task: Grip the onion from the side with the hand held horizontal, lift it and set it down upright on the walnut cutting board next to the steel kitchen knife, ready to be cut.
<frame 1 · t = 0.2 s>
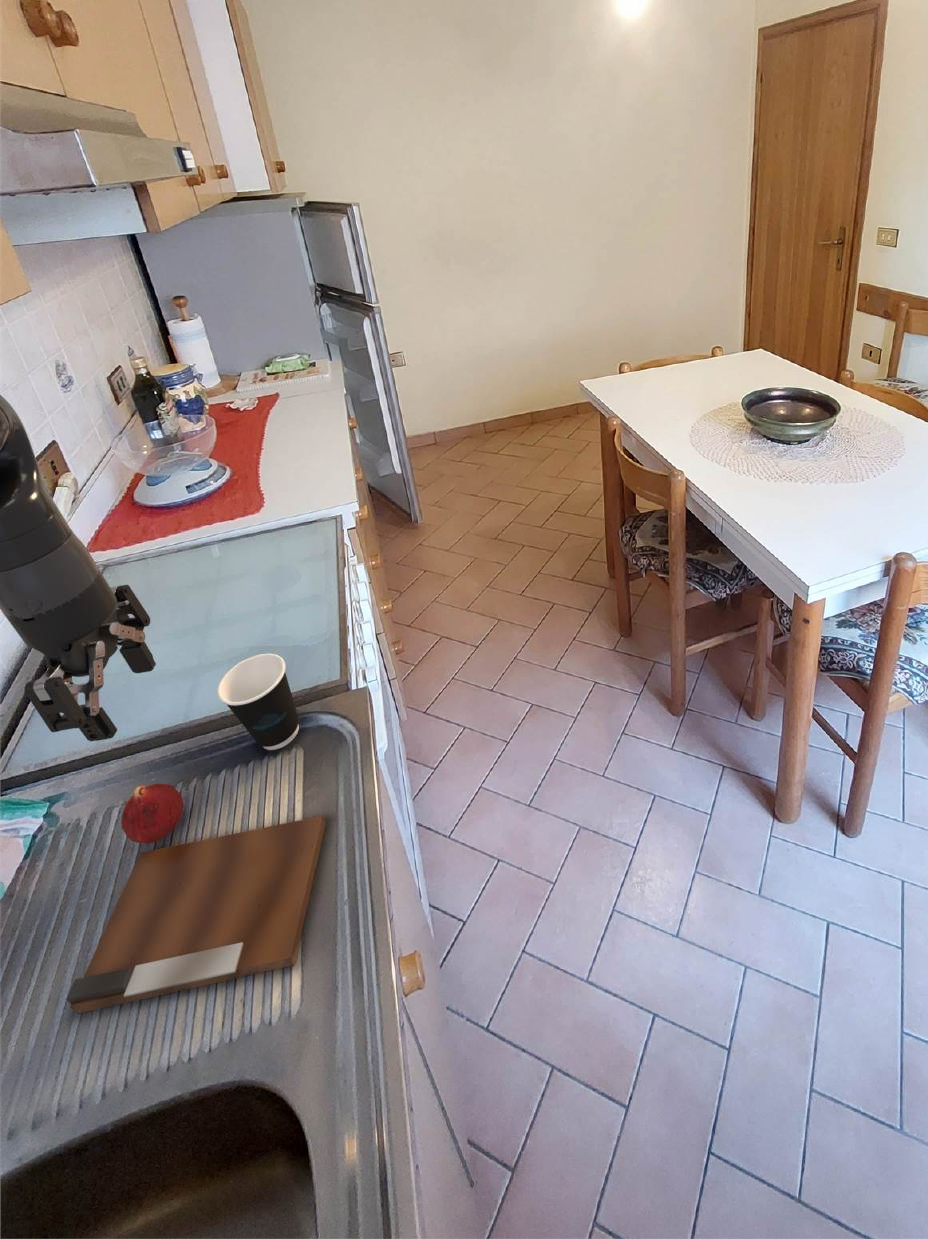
hand: (126, 701, 67), 20 cm above the worktop, tool pointing down, fingers open, 8 cm apart
dixie cup: (280, 735, 86), on the worktop
onion: (167, 832, 75), on the worktop
cutting board: (214, 908, 67), on the worktop
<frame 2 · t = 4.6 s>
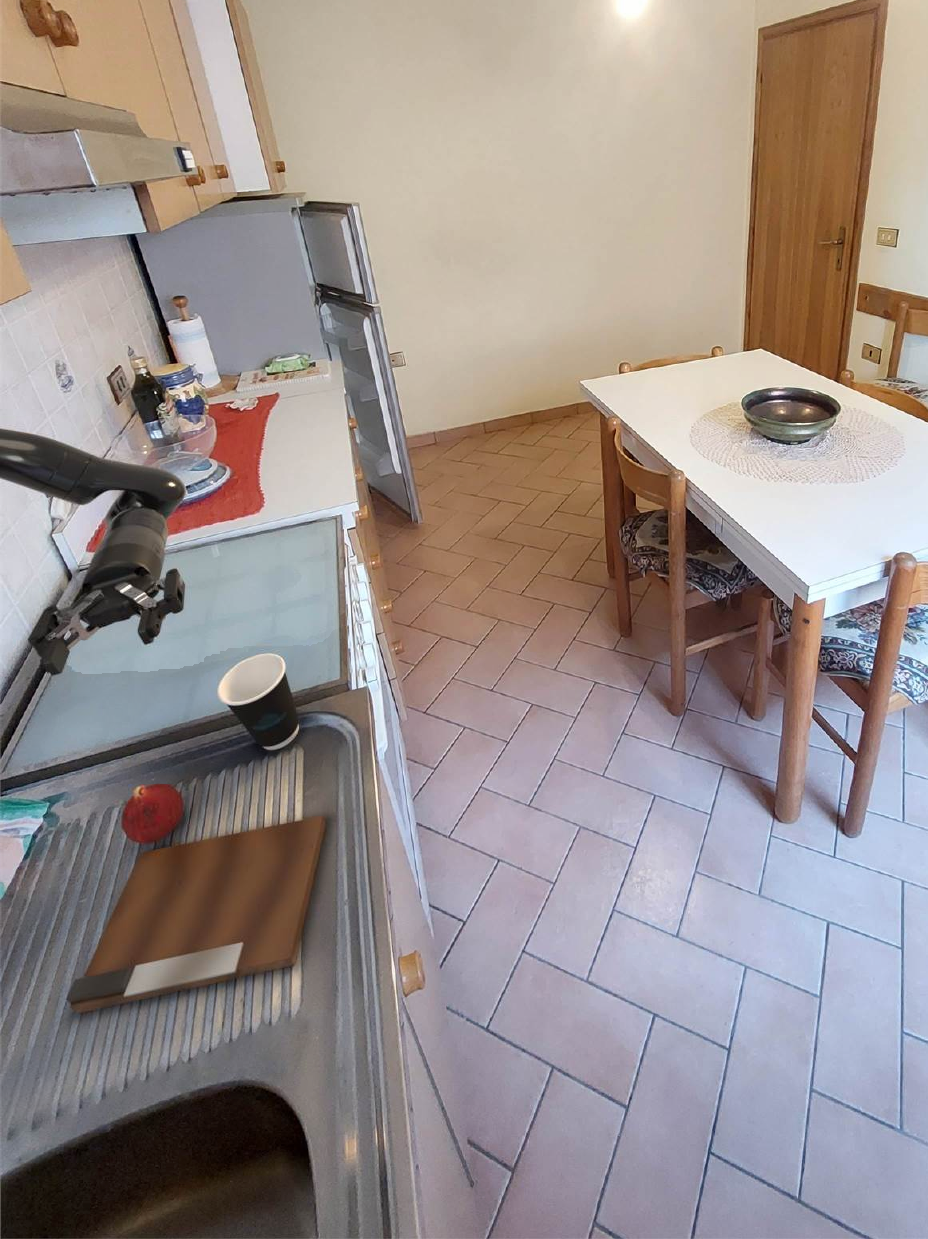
hand: (99, 653, 68), 24 cm above the worktop, tool horizontal, fingers open, 8 cm apart
nothing on the worktop moved.
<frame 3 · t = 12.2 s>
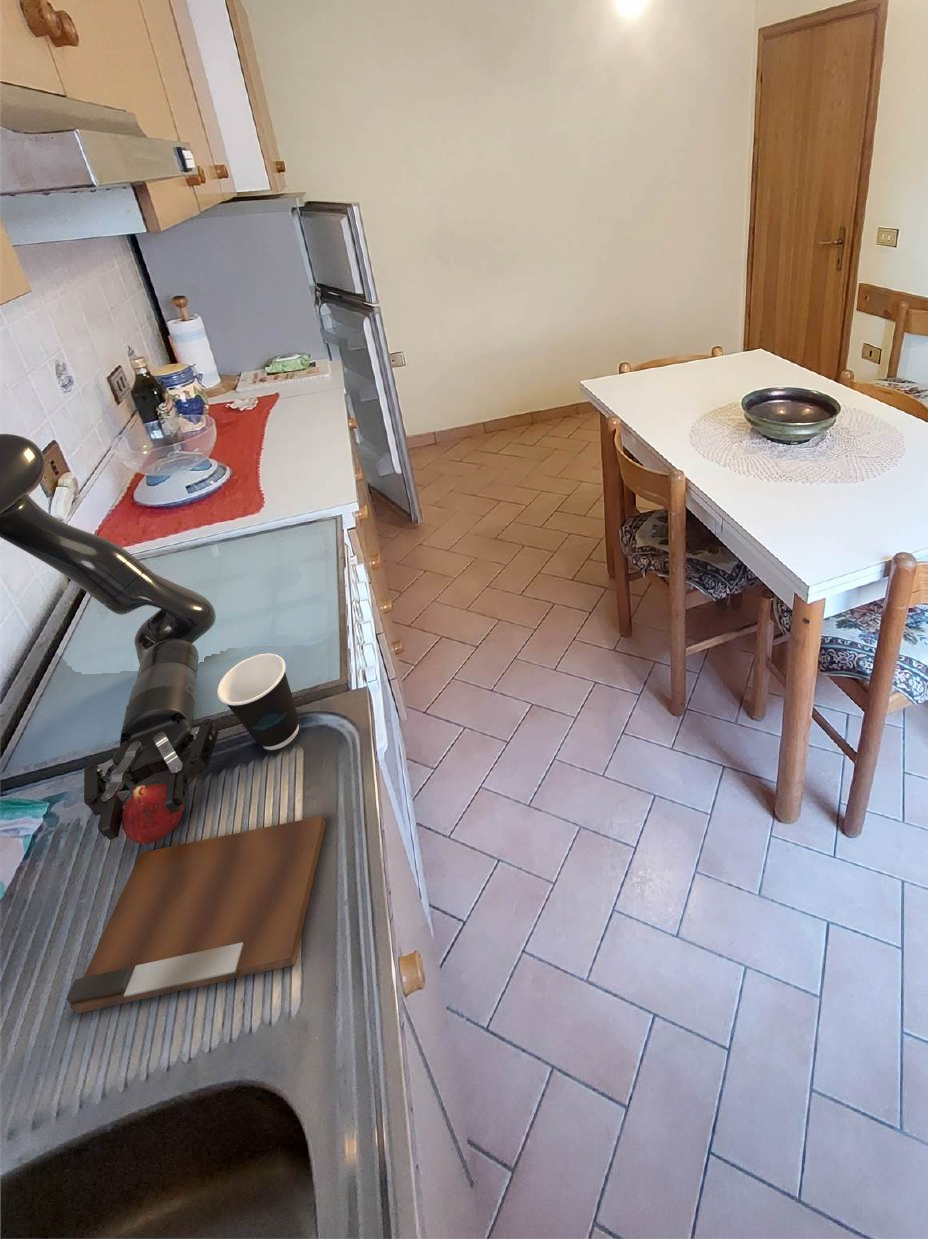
hand: (141, 821, 70), 6 cm above the worktop, tool horizontal, fingers closed on onion, 5 cm apart
onion: (167, 832, 75), on the worktop, touching gripper
everything else where it was.
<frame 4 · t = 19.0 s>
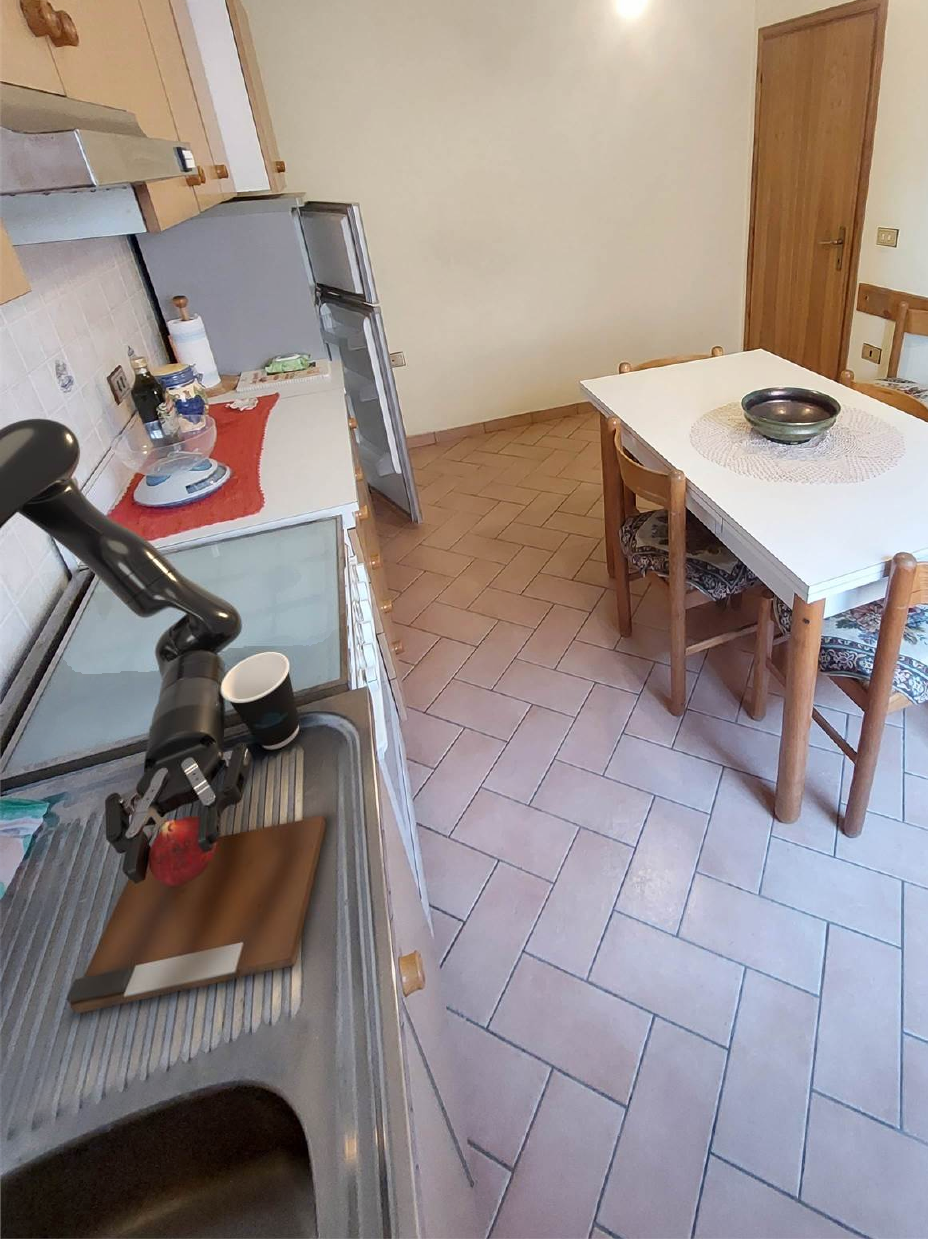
hand: (171, 862, 62), 10 cm above the worktop, tool horizontal, fingers closed on onion, 5 cm apart
onion: (198, 870, 67), point 4 cm above the worktop, touching gripper
everything else where it was.
when the fingers open (8 cm above the worktop, at t = 20.5 s): onion stays where it is, resting on cutting board.
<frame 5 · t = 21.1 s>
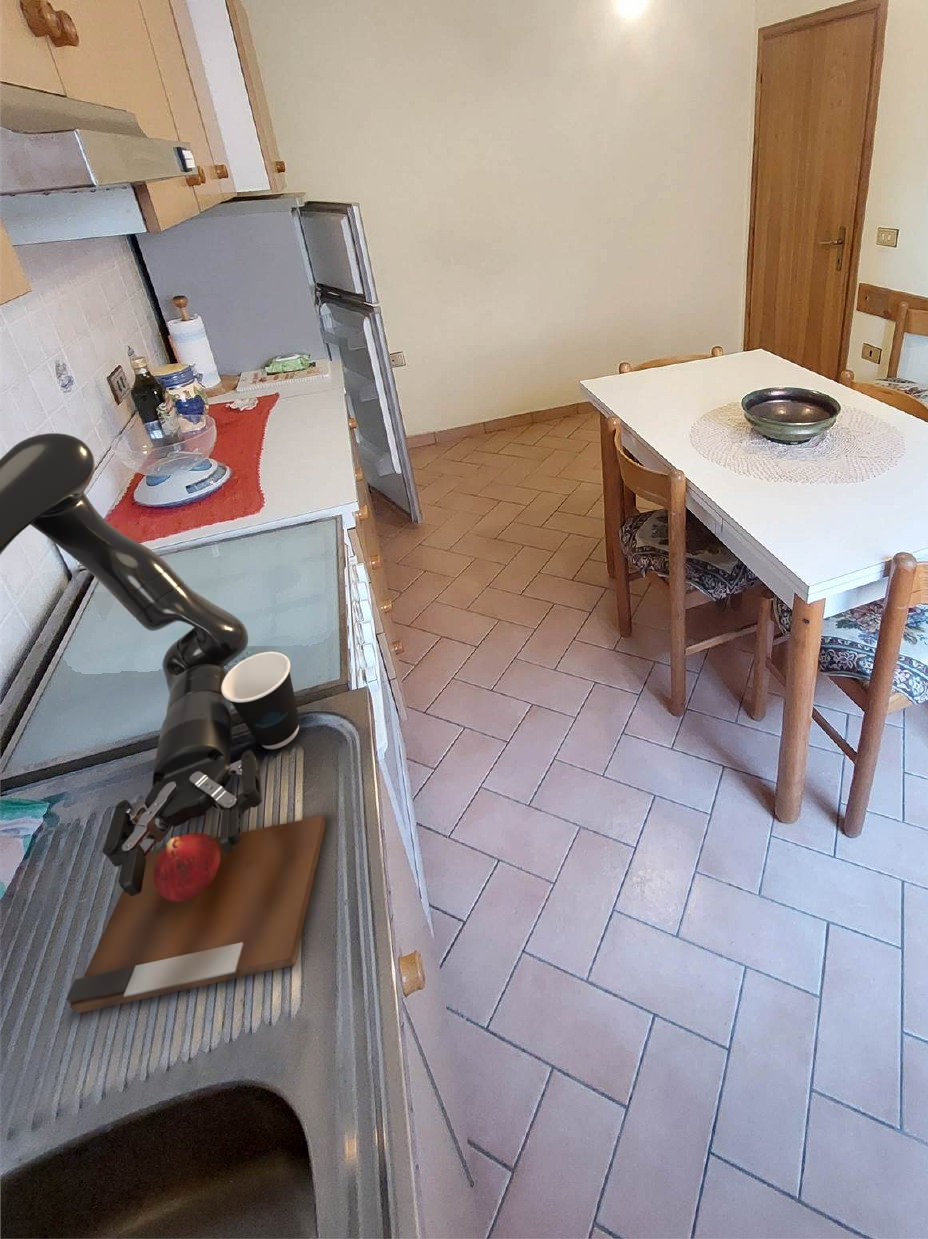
hand: (180, 869, 63), 8 cm above the worktop, tool horizontal, fingers open, 8 cm apart
dixie cup: (280, 734, 85), on the worktop, touching arm
onion: (202, 886, 68), point 1 cm above the worktop, touching cutting board
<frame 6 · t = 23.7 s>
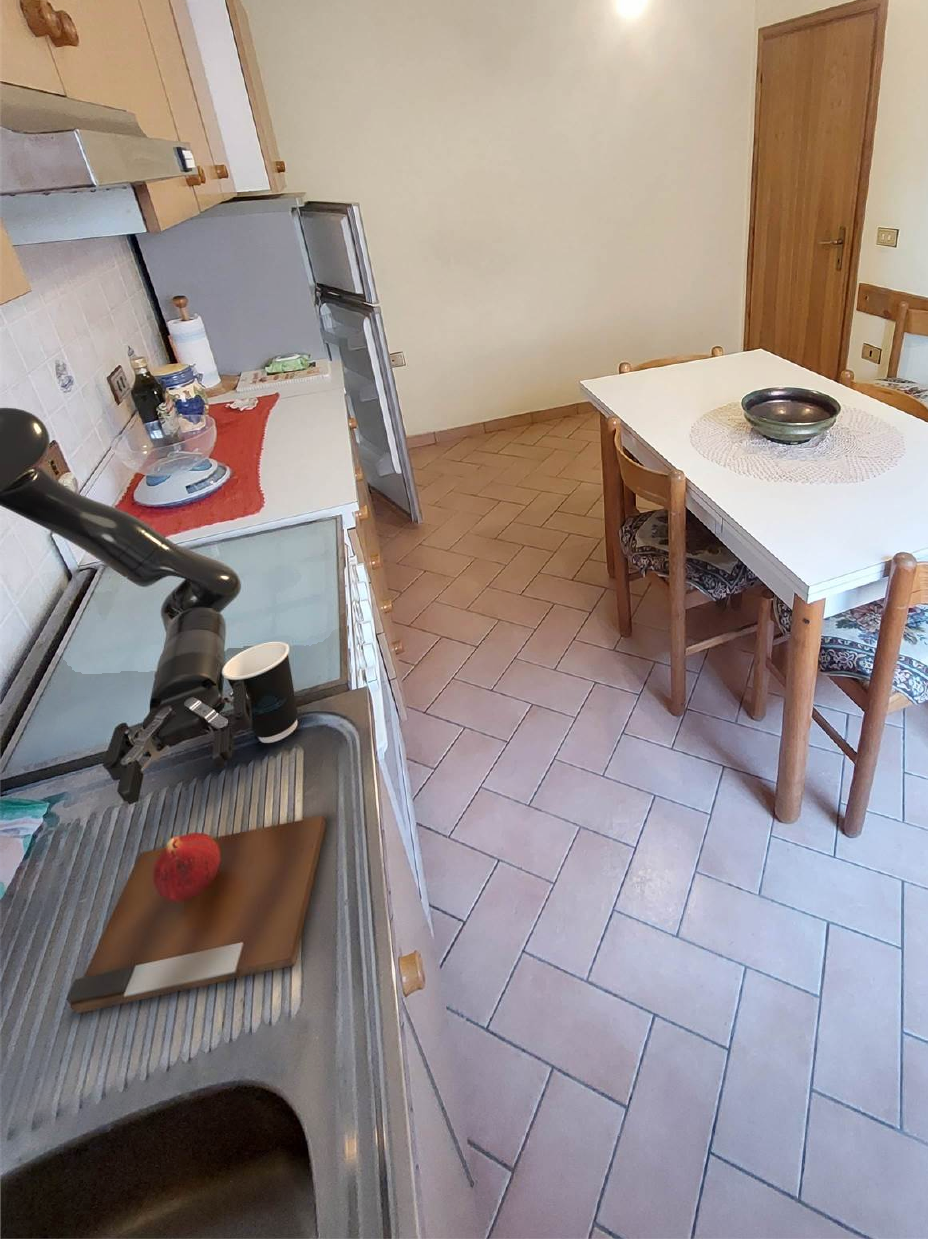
hand: (175, 780, 68), 11 cm above the worktop, tool horizontal, fingers open, 8 cm apart
dixie cup: (278, 731, 85), on the worktop, touching hand
everything else where it was.
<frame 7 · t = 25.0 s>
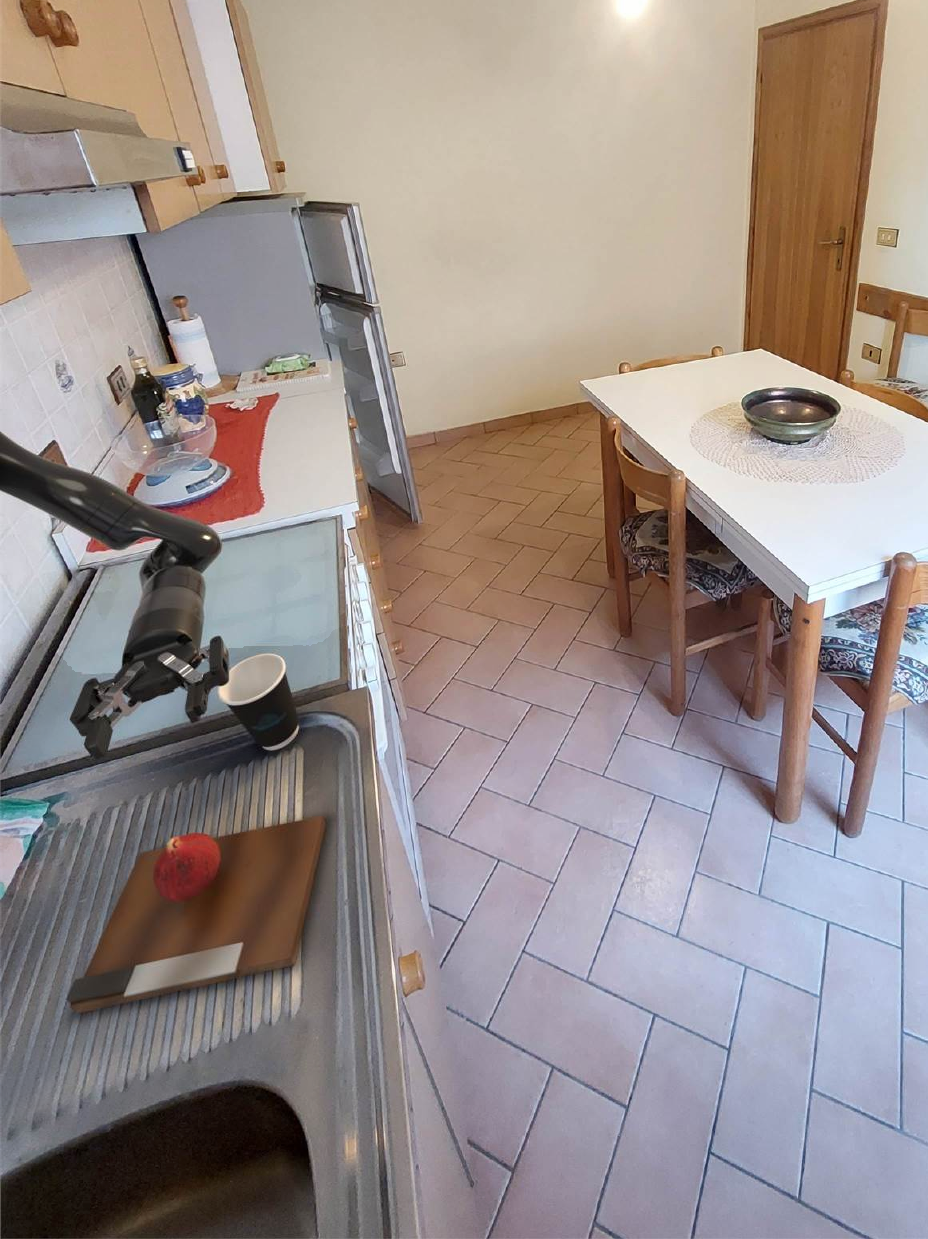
hand: (145, 735, 65), 19 cm above the worktop, tool horizontal, fingers open, 8 cm apart
dixie cup: (280, 735, 85), on the worktop
everything else where it was.
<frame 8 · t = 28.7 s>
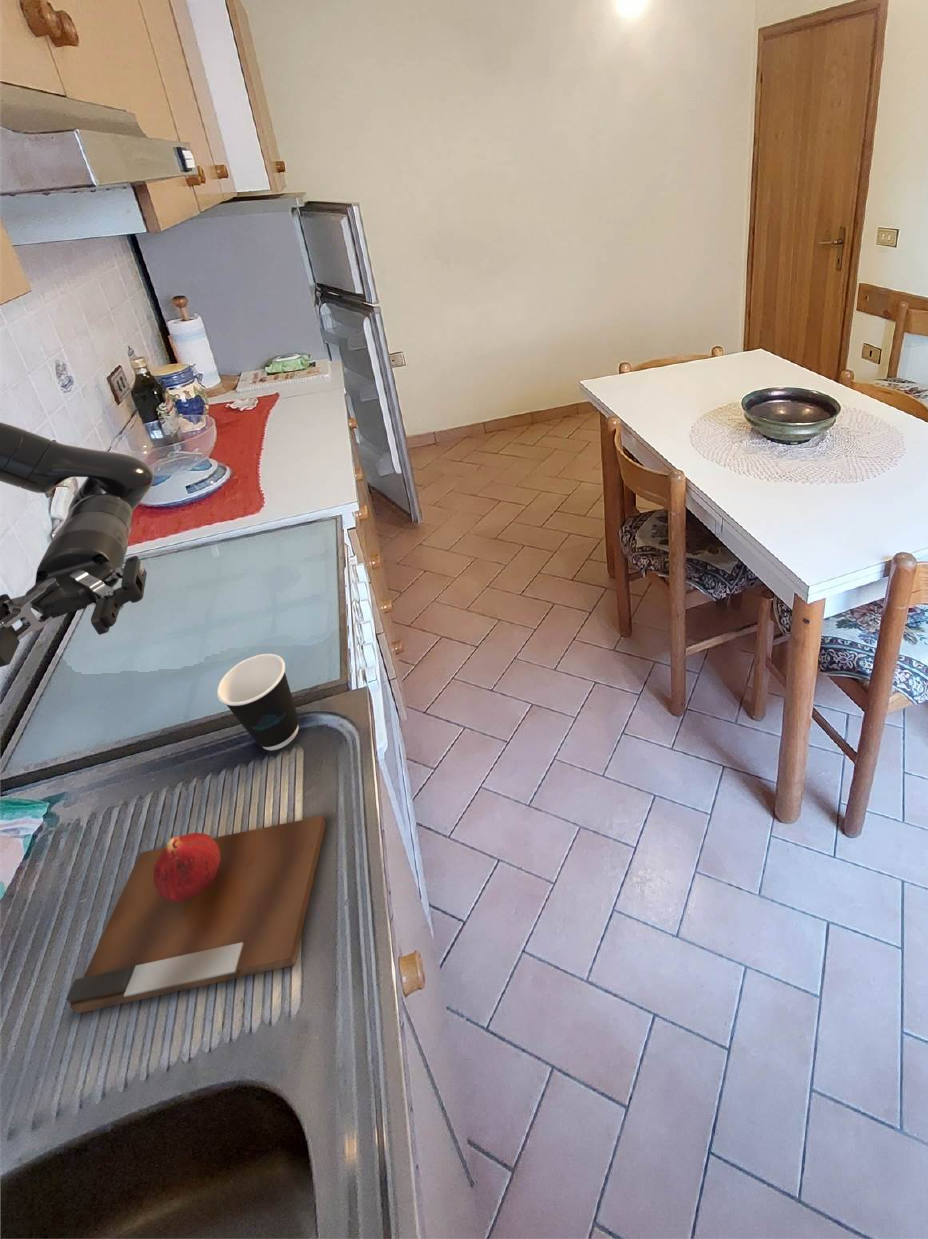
hand: (49, 643, 64), 28 cm above the worktop, tool horizontal, fingers open, 8 cm apart
nothing on the worktop moved.
at the end: onion inside the target area (2.3 cm from its centre), point 1.3 cm above the worktop; onion tilted 0°; the gripper is holding nothing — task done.
